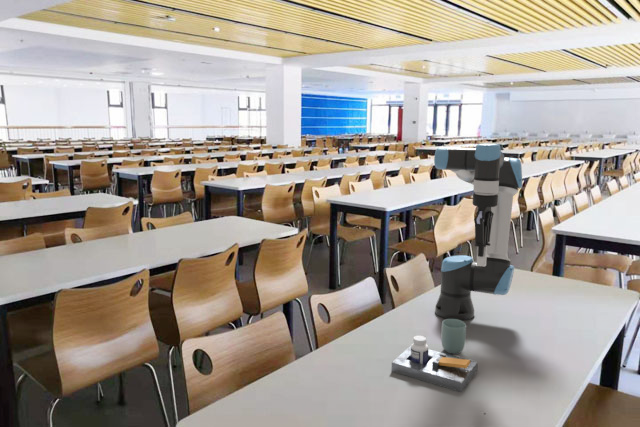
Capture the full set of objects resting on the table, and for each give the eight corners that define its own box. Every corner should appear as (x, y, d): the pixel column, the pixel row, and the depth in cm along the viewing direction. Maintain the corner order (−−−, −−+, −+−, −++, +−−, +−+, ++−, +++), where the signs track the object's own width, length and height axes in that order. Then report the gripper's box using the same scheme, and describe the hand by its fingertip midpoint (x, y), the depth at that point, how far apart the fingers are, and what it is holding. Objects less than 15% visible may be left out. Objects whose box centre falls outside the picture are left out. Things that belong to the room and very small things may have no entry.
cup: (448, 357, 169) (449, 329, 167) (436, 347, 176) (437, 320, 174) (469, 354, 171) (470, 326, 169) (456, 344, 178) (458, 317, 176)
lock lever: (439, 360, 161) (439, 355, 161) (470, 363, 155) (470, 358, 155) (434, 365, 157) (433, 361, 157) (465, 369, 152) (465, 364, 151)
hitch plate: (411, 353, 172) (411, 339, 171) (476, 370, 160) (477, 356, 159) (391, 371, 160) (391, 356, 159) (460, 392, 148) (461, 376, 147)
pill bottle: (425, 362, 165) (426, 334, 164) (429, 370, 160) (430, 341, 158) (408, 363, 165) (409, 334, 163) (412, 371, 160) (413, 342, 158)
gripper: (479, 189, 169) (475, 259, 174) (467, 195, 159) (463, 268, 163) (503, 191, 165) (498, 262, 170) (491, 197, 155) (487, 272, 159)
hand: (481, 265), depth 166 cm, fingers closed
